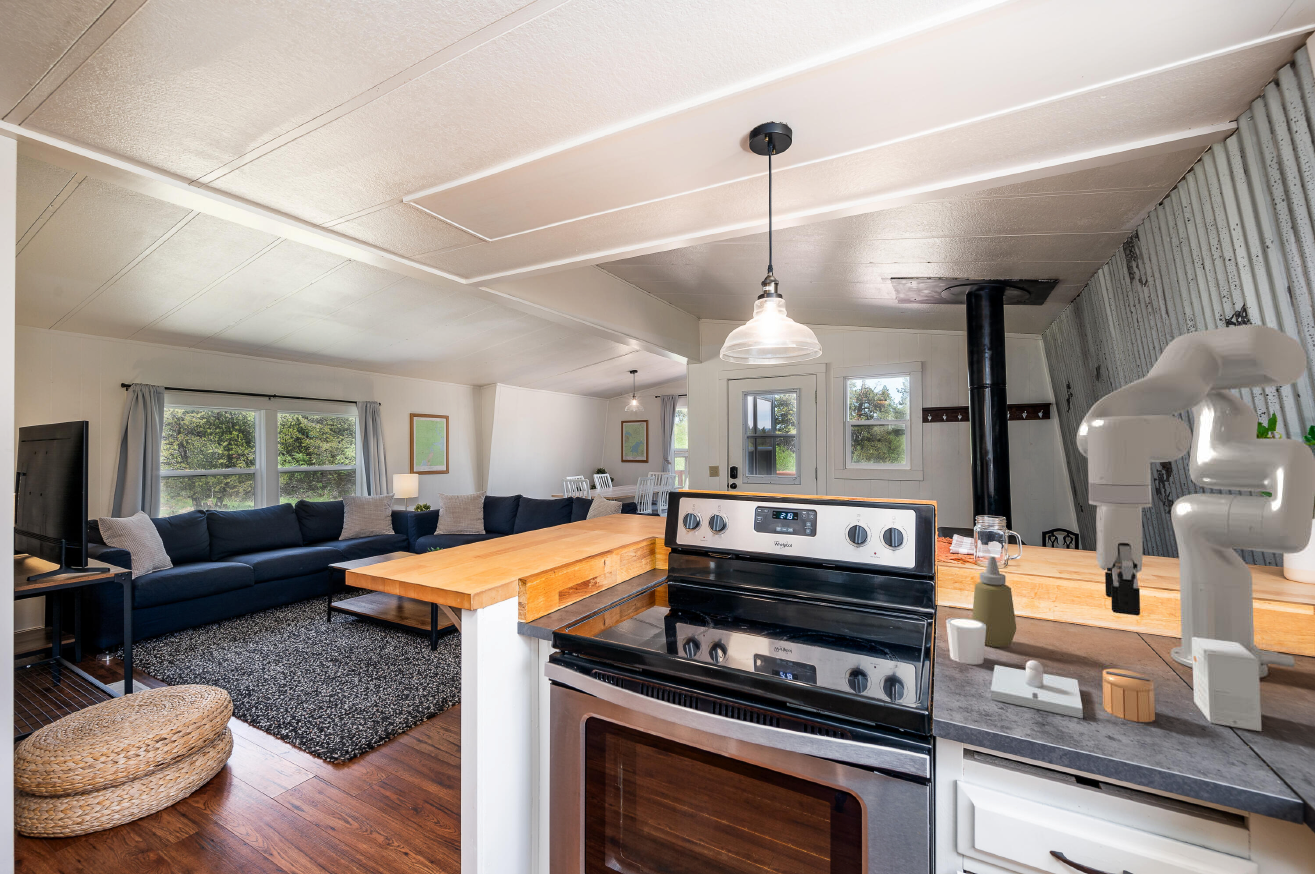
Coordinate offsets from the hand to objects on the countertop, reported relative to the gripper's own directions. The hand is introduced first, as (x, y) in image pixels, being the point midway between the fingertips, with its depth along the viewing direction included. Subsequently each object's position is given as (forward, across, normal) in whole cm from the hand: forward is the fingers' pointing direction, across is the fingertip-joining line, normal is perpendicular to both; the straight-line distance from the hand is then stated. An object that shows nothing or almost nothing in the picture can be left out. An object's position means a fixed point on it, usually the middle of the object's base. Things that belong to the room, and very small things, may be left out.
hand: (1121, 605), depth 87 cm
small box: (+17, -6, +12) cm, 22 cm away
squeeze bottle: (+17, -23, -19) cm, 34 cm away
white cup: (+17, -11, -23) cm, 30 cm away
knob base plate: (+16, 0, -12) cm, 20 cm away
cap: (+16, 0, 0) cm, 17 cm away
